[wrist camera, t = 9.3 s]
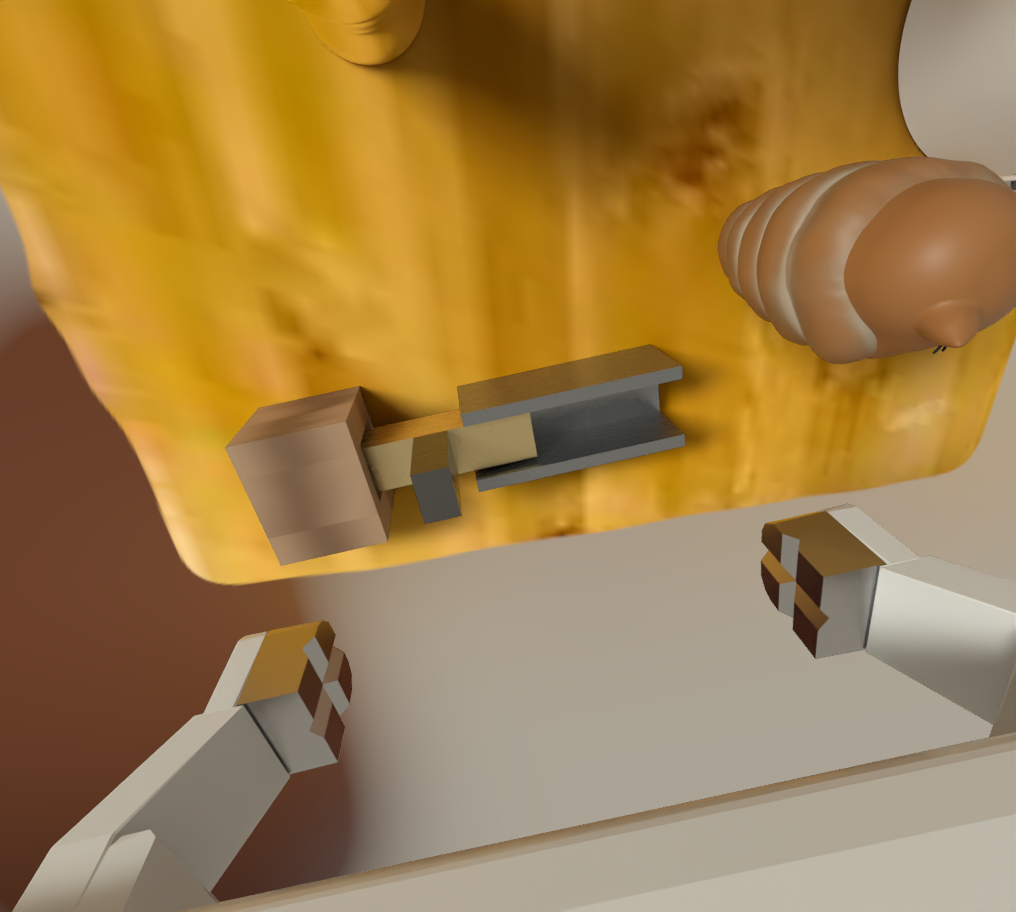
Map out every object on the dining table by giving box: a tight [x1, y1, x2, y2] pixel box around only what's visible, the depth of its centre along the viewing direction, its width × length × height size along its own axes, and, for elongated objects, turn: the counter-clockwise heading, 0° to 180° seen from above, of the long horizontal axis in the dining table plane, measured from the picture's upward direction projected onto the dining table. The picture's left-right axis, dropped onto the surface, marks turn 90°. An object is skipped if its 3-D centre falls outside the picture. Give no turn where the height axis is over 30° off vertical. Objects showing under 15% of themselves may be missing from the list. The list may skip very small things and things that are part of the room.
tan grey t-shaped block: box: [360, 409, 537, 524], centre depth 31 cm, size 14×3×8 cm, turn 101°
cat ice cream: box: [718, 157, 1016, 364], centre depth 25 cm, size 9×8×18 cm
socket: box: [225, 386, 395, 566], centre depth 33 cm, size 6×8×6 cm
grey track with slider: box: [457, 344, 685, 492], centre depth 34 cm, size 13×5×5 cm, turn 101°
